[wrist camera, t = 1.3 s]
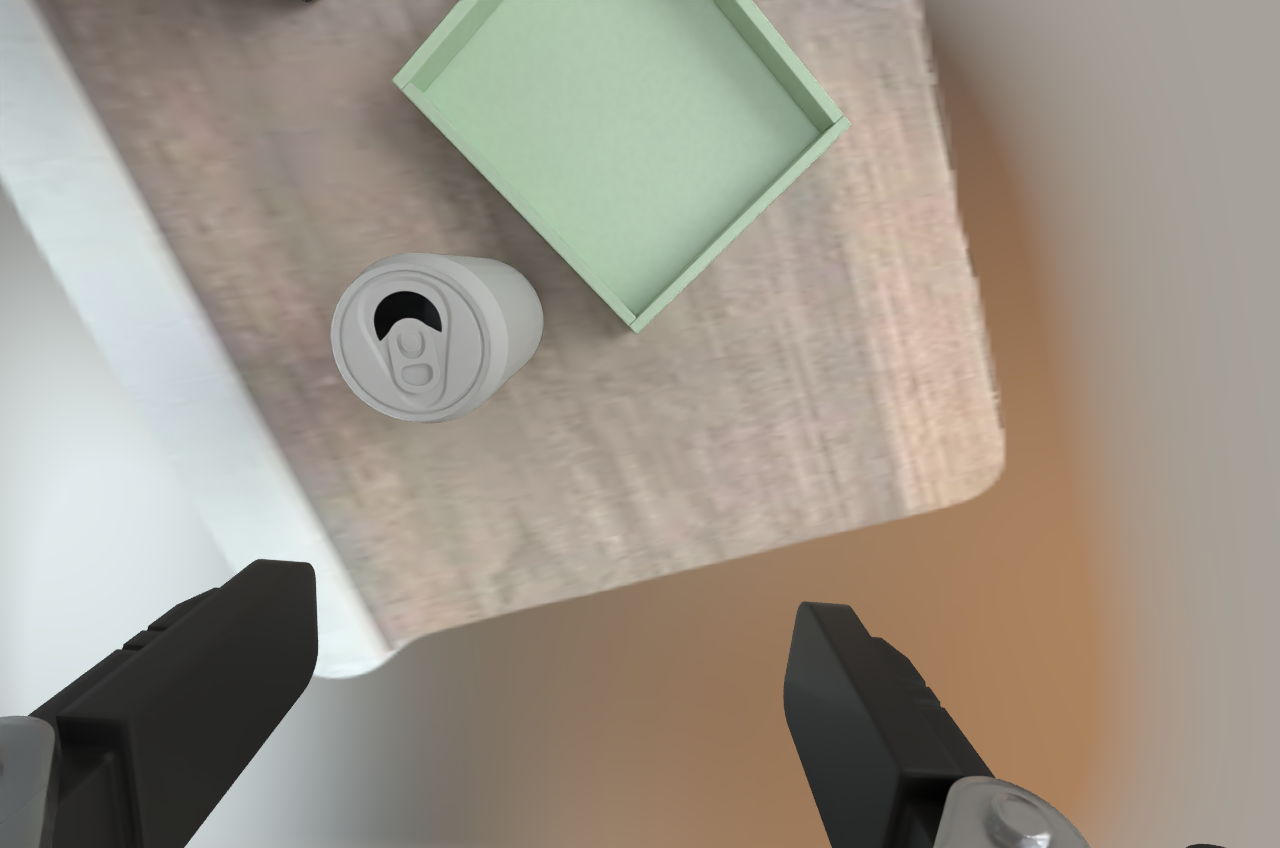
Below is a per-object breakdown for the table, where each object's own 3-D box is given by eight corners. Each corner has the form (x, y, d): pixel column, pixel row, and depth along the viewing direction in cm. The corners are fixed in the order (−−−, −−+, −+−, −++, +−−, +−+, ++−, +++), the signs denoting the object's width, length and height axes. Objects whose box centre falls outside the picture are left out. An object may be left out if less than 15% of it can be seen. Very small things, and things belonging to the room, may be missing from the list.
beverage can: (533, 249, 32) (480, 237, 20) (555, 368, 34) (516, 419, 22) (416, 267, 32) (295, 264, 20) (442, 384, 34) (344, 443, 22)
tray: (410, 96, 30) (390, 80, 28) (612, -138, 28) (610, -179, 25) (635, 330, 33) (636, 334, 31) (833, 136, 31) (852, 124, 28)
